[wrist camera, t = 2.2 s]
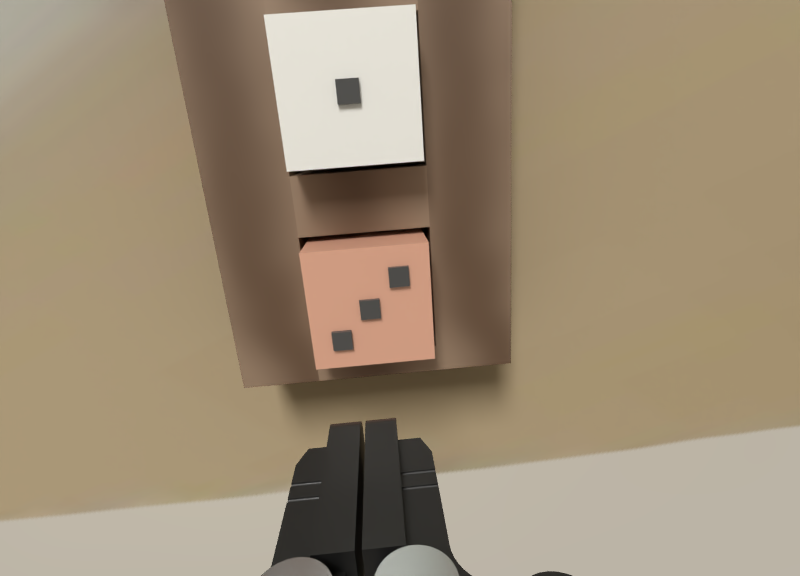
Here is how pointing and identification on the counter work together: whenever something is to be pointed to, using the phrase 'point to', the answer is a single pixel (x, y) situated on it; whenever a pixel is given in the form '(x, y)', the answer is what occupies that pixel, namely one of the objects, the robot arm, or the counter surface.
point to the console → (354, 182)
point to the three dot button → (368, 298)
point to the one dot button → (347, 86)
